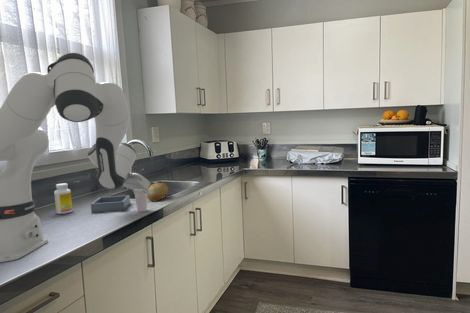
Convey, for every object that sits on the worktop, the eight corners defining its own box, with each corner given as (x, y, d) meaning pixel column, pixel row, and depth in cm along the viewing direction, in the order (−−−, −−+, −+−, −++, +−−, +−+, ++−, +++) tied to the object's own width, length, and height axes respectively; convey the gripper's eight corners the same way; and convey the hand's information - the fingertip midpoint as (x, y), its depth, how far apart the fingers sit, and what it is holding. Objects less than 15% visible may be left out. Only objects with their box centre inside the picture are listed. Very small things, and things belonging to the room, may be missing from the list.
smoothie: (134, 209, 154) (131, 178, 153) (148, 207, 157) (146, 177, 155) (135, 213, 148) (132, 180, 147) (150, 211, 151) (148, 179, 149)
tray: (124, 210, 154) (123, 201, 153) (91, 213, 152) (90, 204, 152) (130, 203, 167) (129, 195, 167) (100, 205, 166) (99, 197, 165)
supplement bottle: (76, 210, 158) (73, 182, 156) (65, 214, 151) (62, 185, 150) (63, 210, 160) (61, 182, 158) (52, 214, 153) (49, 185, 152)
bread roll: (172, 195, 182) (171, 180, 182) (162, 202, 168) (161, 185, 167) (155, 195, 184) (154, 180, 183) (143, 202, 169) (142, 186, 168)
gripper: (140, 167, 139) (161, 187, 147) (111, 165, 151) (132, 183, 160) (131, 180, 135) (153, 200, 144) (102, 177, 148) (124, 195, 157)
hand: (141, 191), depth 152 cm, fingers closed on smoothie, 6 cm apart
